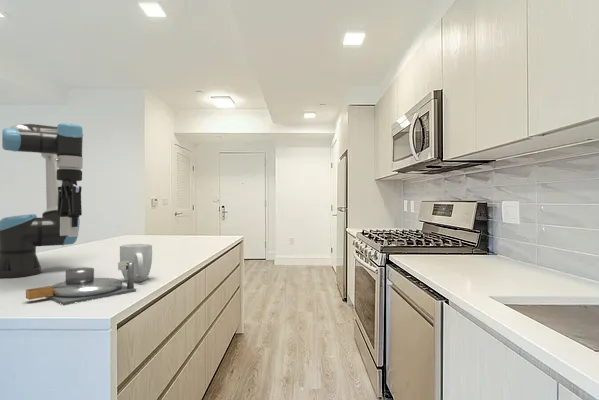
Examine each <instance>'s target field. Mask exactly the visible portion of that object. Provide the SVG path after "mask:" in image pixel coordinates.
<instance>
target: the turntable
mask: <svg viewBox="0 0 599 400" xmlns="http://www.w3.org/2000/svg"><path fill="white" fill-rule="evenodd" d="M122 285H123V280H121V279H120V278H115V277H114V278H113V277H94V281H93V282H90V283H85V284H66V280H65V281H61V282H58V283H55V284H52V285H47V286H42V287H35V288H27V289H25V299H26V300H36V299H42V298H46V297H49V296H60V297H80V296H91V295H98V294H103V293H108V292H112V291H115V290H118V289H120V288H121V287H122Z"/></svg>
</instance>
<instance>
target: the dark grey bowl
mask: <svg viewBox="0 0 599 400" xmlns="http://www.w3.org/2000/svg"><path fill="white" fill-rule="evenodd" d="M94 278H95V268H94V267H88V266H87V267H75V268H74V267H73V268H69V269H66V270H65V281H66V284H85V283H90V282H93V281H94Z"/></svg>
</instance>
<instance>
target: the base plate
mask: <svg viewBox="0 0 599 400" xmlns="http://www.w3.org/2000/svg"><path fill="white" fill-rule="evenodd" d="M135 292H137V288H135V287H134V288H132V289H127V285H124V284H122V287H121V288H120V289H118V290H115V291H112V292H108V293H103V294H98V295H91V296H80V297H60V296H49V297H45V299H46V298H47V299H49V300H51V301H53V302H55V301H56V302H55V303H57V302H58V303H57V304H60V303H61V304H60V305H62V304H63V305H62V306H66V305H65V304H67V305H71V304H70V303H72V304H76V303H75V302H78V303H82V302H81V301H83V302H87V300H88V301H92V299H93V300H97V299H98V298H99V299H103V297H104V298H110V297H114V296H119V295H124V294H129V293H135Z"/></svg>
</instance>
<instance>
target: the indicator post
mask: <svg viewBox="0 0 599 400" xmlns="http://www.w3.org/2000/svg"><path fill="white" fill-rule="evenodd" d="M117 270H118V271H121V270H127V281H126V284H127V285H126V286H127V289H132V288H134V289H135V282H134V262H130V261H121V262H120V261H119V262H117Z"/></svg>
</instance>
